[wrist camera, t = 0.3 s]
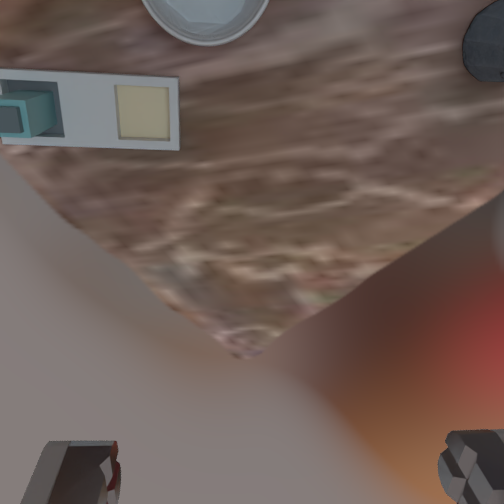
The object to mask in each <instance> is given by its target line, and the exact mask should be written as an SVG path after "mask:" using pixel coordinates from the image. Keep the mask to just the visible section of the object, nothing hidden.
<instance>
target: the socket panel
mask: <svg viewBox="0 0 504 504" xmlns="http://www.w3.org/2000/svg"><path fill="white" fill-rule="evenodd" d="M16 90H37V91H53V96H54V103H55V110H56V118H57V124H56V125H54V126H53V127H51V128H49V129H47V130H45V131H43V132H42V133H40V134H38V135H36V136H34V137H33V138H14V137H2V142H3V144H15V145H43V146H70V147H98V148H125V149H153V150H180V98H179V77H174V76H155V75H136V74H117V73H97V72H78V71H59V70H40V69H20V68H1V67H0V95H2V94H5V93H9V92H13V91H16Z"/></svg>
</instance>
